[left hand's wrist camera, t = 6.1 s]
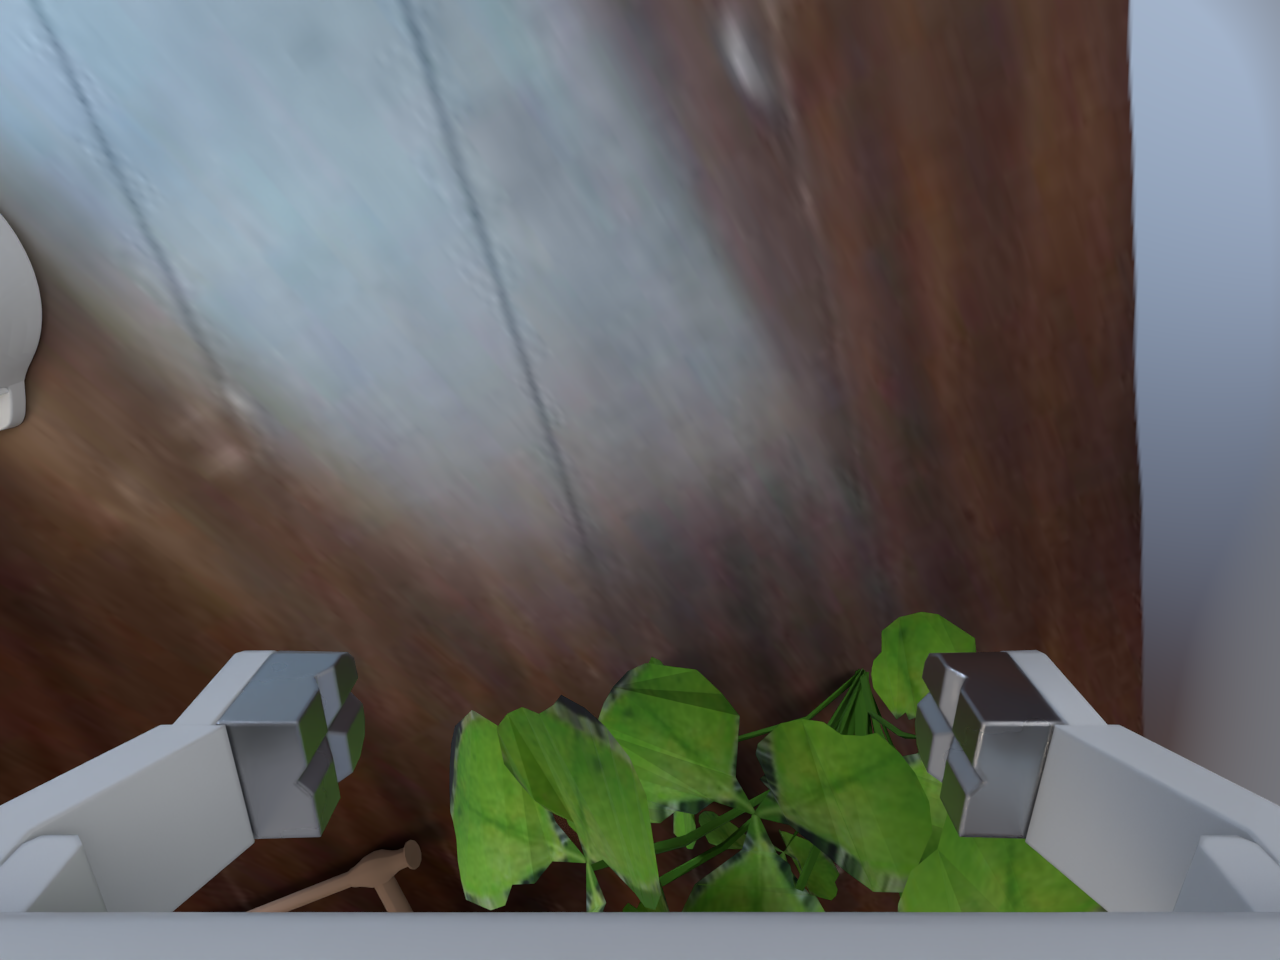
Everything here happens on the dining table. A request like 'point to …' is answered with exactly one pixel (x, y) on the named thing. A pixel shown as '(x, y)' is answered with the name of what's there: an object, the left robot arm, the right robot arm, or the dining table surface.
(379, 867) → the toilet paper hanger
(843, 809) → the indoor plant
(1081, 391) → the dining table surface
